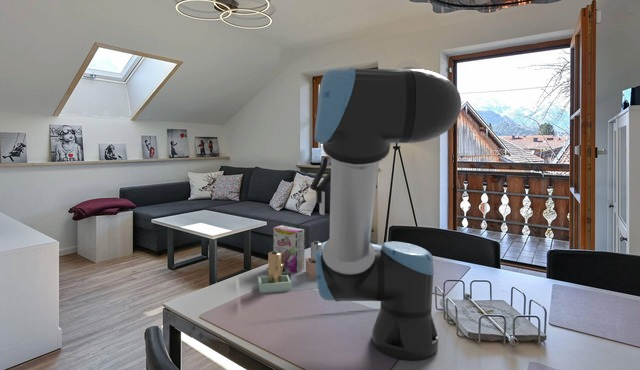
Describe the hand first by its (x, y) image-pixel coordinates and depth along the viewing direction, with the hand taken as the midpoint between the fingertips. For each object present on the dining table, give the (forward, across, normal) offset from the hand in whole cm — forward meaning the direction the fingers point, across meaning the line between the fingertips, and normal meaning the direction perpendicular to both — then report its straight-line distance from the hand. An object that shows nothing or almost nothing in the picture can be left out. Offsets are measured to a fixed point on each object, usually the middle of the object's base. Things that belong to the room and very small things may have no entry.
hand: (343, 213), depth 111 cm
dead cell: (+24, +3, -19) cm, 31 cm away
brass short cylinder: (+24, +17, -18) cm, 34 cm away
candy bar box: (+26, +11, -27) cm, 39 cm away
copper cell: (+25, +19, -11) cm, 33 cm away
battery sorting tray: (+26, +12, -14) cm, 32 cm away
